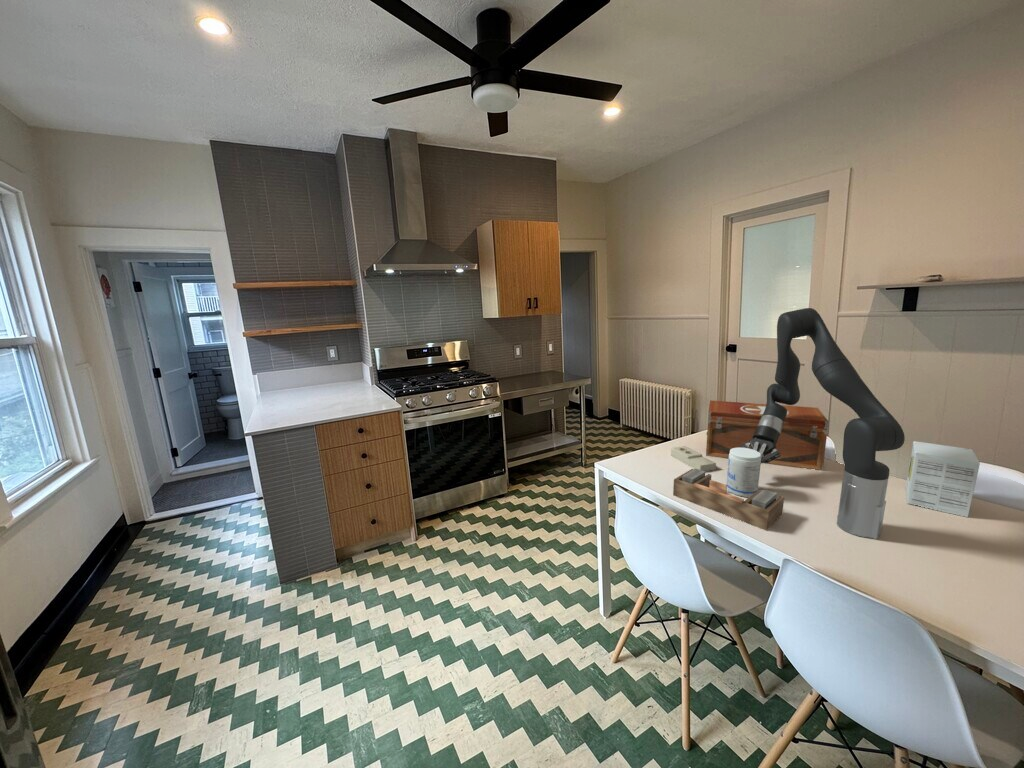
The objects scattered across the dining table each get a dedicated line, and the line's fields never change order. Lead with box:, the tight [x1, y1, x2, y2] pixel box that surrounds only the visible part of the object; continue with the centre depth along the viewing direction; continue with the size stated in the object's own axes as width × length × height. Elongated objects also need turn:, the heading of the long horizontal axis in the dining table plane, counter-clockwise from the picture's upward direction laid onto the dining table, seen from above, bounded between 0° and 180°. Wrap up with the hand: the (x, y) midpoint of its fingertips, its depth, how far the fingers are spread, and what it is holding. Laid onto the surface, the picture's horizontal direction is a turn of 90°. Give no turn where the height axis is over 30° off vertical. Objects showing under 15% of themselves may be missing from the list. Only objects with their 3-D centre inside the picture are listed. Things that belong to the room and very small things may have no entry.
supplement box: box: [905, 440, 981, 518], centre depth 121 cm, size 13×13×18 cm
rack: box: [672, 468, 785, 531], centre depth 127 cm, size 29×13×10 cm, turn 38°
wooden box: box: [705, 399, 830, 471], centre depth 164 cm, size 20×41×20 cm, turn 61°
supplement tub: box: [725, 448, 762, 498], centre depth 134 cm, size 10×10×15 cm
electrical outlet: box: [670, 445, 717, 472], centre depth 161 cm, size 7×4×18 cm
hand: (752, 470), depth 139 cm, fingers closed
